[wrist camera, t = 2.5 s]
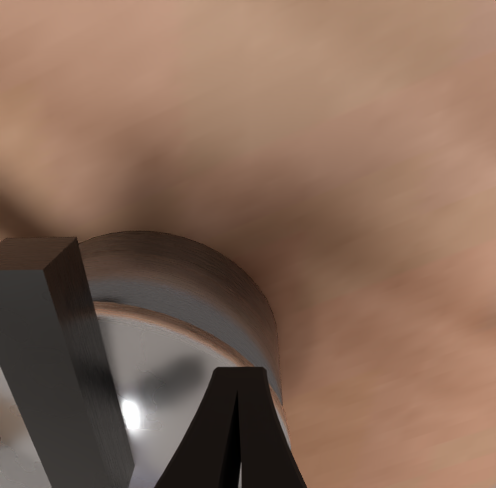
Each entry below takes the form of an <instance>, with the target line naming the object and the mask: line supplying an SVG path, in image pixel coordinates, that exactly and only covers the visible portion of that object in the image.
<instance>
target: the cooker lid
mask: <svg viewBox="0 0 496 488" xmlns="http://www.w3.org/2000/svg"><path fill="white" fill-rule="evenodd" d="M217 367H255V366H254V365H253V364H252V363H251V362H249V361H248V360H247V359H246V358H245V357H243V356H242V355H241V354H240V353H239V352H237V351H236V350H235V349H234V348H232V347H231V346H229V345H228V344H226V343H225V342H223V341H222V340H220V339H218V338H217V337H215V336H214V335H212V334H210V333H208V332H206V331H204V330H202V329H200V328H198V327H196V326H194V325H192V324H190V323H188V322H185V321H182V320H180V319H177V318H174V317H172V316H169V315H166V314H164V313H160V312H156V311H152V310H148V309H145V308H141V307H137V306H131V305H125V304H118V303H111V302H98V301H93V300H92V296H91V292H90V288H89V284H88V280H87V276H86V272H85V268H84V264H83V261H82V257H81V253H80V249H79V245H78V241H77V237H58V238H6V239H4V240H3V241H1V242H0V488H154V487H155V485H156V483H157V482H158V480H159V479H160V477H161V475H162V474H163V472H164V470H165V469H166V467H167V465H168V463H169V462H170V460H171V458H172V457H173V455H174V453H175V451H176V450H177V448H178V446H179V444H180V443H181V441H182V439H183V437H184V435H185V433H186V431H187V429H188V427H189V425H190V423H191V421H192V420H193V418H194V416H195V414H196V412H197V409H198V407H199V405H200V403H201V401H202V399H203V396H204V394H205V392H206V389H207V387H208V384H209V382H210V379H211V376H212V373H213V370H214V369H215V368H217ZM269 388H270V392H271V396H272V400H273V403H274V406H275V409H276V413H277V416H278V419H279V421H280V424H281V427H282V429H283V432H284V435H285V437H286V440H287V443H288V445H289V448H290V450H291V445H290V433H289V426H288V422H287V418H286V414H285V411H284V409H283V407H282V405H281V403H280V400H279V398H278V396H277V394H276V393H275V391H274V390H273V389H272V387H271V386H270V384H269ZM241 487H242V485H241V468H240V477H239V485H238V488H241Z"/></svg>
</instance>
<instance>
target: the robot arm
mask: <svg viewBox="0 0 496 488" xmlns="http://www.w3.org/2000/svg"><path fill="white" fill-rule="evenodd" d="M240 468H241V485H242V487H241V488H307V486H306V484H305V482H304V480H303V478H302V475H301V473H300V471H299V469H298V466H297V464H296V462H295V460H294V457H293V455H292V453H291V450H290V448H289V445H288V443H287V440H286V437H285V435H284V432H283V429H282V427H281V424H280V421H279V419H278V416H277V413H276V409H275V406H274V403H273V400H272V396H271V392H270V388H269V383H268V378H267V370H266V369H265V368H264V367H217V368H215V369H214V370H213V373H212V376H211V379H210V382H209V384H208V387H207V389H206V392H205V394H204V396H203V399H202V401H201V403H200V405H199V407H198V409H197V412H196V414H195V416H194V418H193V420H192V421H191V423H190V425H189V427H188V429H187V431H186V433H185V435H184V437H183V439H182V441H181V443H180V444H179V446H178V448H177V450H176V451H175V453H174V455H173V457H172V458H171V460H170V462H169V463H168V465H167V467H166V469H165V470H164V472H163V474H162V475H161V477H160V479H159V480H158V482H157V483H156V485H155V487H154V488H238V485H239V477H240Z"/></svg>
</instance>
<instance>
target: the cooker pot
mask: <svg viewBox="0 0 496 488" xmlns="http://www.w3.org/2000/svg"><path fill="white" fill-rule="evenodd" d="M78 245H79V249H80V253H81V257H82V261H83V264H84V268H85V272H86V276H87V280H88V284H89V288H90V292H91V296H92V300H93V301H98V302H111V303H118V304H125V305H131V306H137V307H141V308H145V309H148V310H152V311H156V312H160V313H164V314H166V315H169V316H172V317H174V318H177V319H180V320H182V321H185V322H188V323H190V324H192V325H194V326H196V327H198V328H200V329H202V330H204V331H206V332H208V333H210V334H212V335H214V336H215V337H217V338H218V339H220V340H222V341H223V342H225V343H226V344H228V345H229V346H231V347H232V348H234V349H235V350H236V351H237V352H239V353H240V354H241V355H242V356H243V357H245V358H246V359H247V360H248V361H249V362H251V363H252V364H253V365H254V366H255V367H264V368H265V369H266V370H267V378H268V383H269V384H270V386H271V387H272V389H273V390H274V391H275V393H276V394H277V396H278V398H279V400H280V403H281V405H282V407H283V402H282V389H281V375H280V362H279V348H278V336H277V328H276V323H275V320H274V316H273V313H272V310H271V308H270V306H269V304H268V302H267V300H266V298H265V297H264V295H263V294H262V292H261V291H260V289H259V288H258V286H257V285H256V284H255V283H254V282H253V280H252V279H251V278H250V277H249V276H248V275H247V274H246V273H245V272H244V271H243V270H242V269H240V268H239V267H238V266H237V265H236V264H235V263H233V262H232V261H230V260H229V259H227V258H226V257H224V256H223V255H221V254H220V253H218V252H216V251H214V250H212V249H210V248H209V247H207V246H205V245H203V244H200V243H197V242H195V241H192V240H189V239H186V238H183V237H179V236H175V235H171V234H167V233H158V232H150V231H126V232H118V233H110V234H106V235H102V236H98V237H94V238H92V239H89V240H87V241H85V242H82V243H80V244H78Z"/></svg>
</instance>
